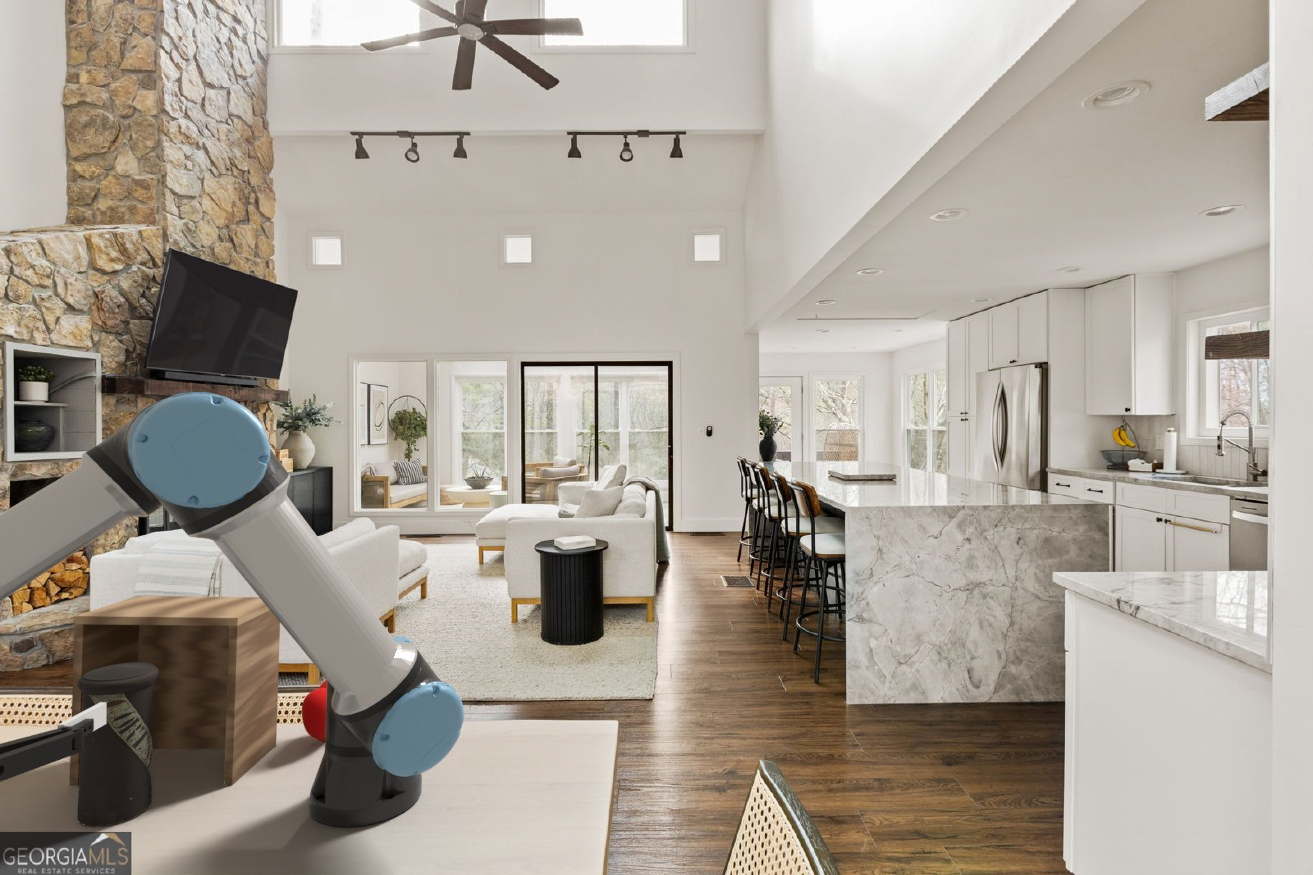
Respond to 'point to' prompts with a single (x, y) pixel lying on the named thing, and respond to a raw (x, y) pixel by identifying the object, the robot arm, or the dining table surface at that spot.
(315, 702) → the heart
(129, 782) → the container
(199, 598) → the cubby
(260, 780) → the dining table surface
